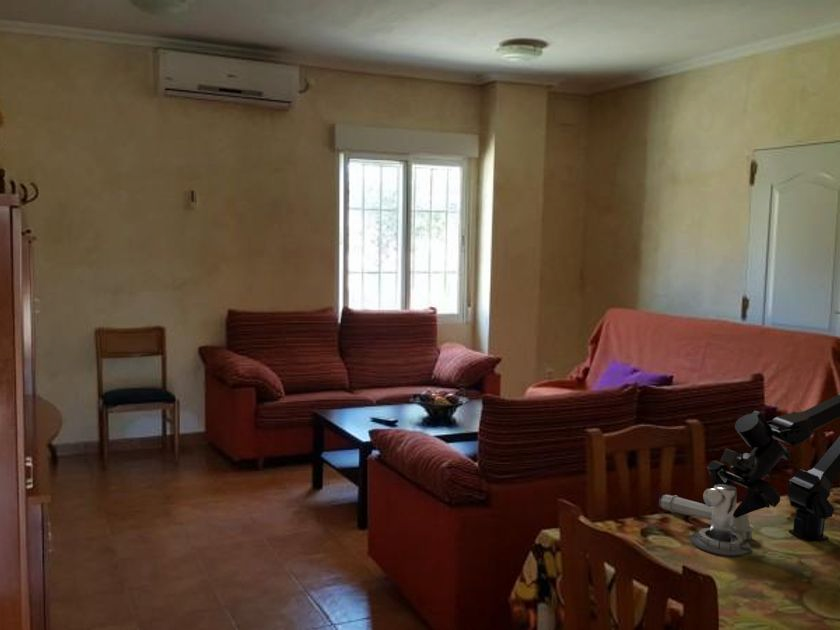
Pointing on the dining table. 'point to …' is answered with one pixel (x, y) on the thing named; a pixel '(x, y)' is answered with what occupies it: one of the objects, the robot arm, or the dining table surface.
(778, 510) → the dining table surface
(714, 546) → the collar
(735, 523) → the grey pipe
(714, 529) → the elbow
